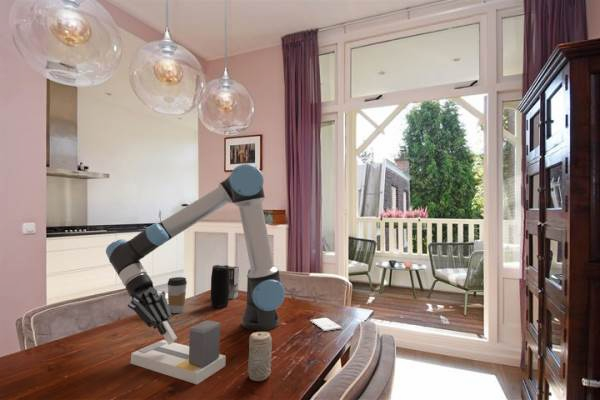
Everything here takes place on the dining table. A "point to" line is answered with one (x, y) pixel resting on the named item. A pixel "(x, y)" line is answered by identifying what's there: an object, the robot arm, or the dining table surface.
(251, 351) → the carving
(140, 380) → the dining table surface
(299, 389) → the dining table surface
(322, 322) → the external hard drive
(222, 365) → the switch panel
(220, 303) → the portable speaker
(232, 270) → the coffee box
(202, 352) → the switch tab
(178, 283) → the coffee cup
